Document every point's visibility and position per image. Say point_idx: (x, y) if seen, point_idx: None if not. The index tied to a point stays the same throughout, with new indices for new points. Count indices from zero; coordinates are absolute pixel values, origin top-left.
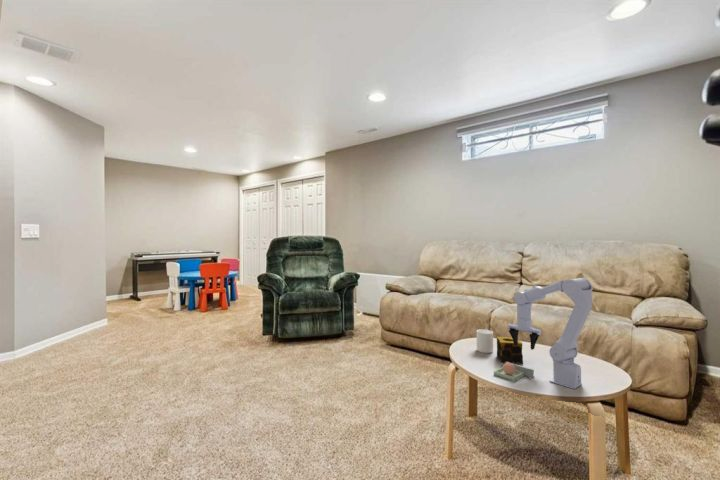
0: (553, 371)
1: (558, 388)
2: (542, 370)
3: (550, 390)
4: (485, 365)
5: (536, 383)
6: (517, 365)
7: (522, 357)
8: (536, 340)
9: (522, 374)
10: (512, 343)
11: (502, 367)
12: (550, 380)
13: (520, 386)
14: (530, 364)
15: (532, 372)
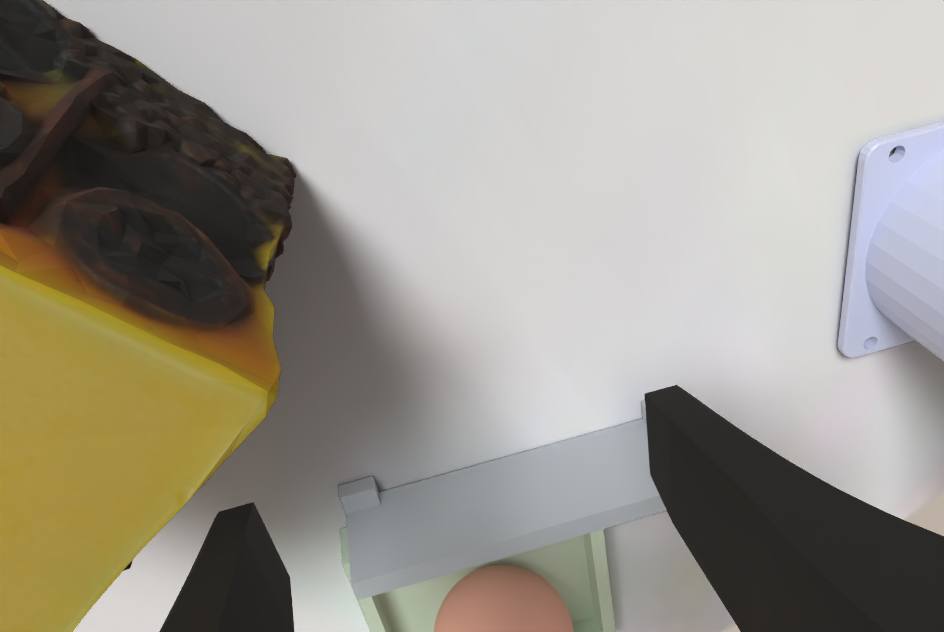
0: (941, 351)
1: (940, 393)
2: (628, 110)
3: (894, 479)
4: (126, 623)
5: None
6: (524, 550)
7: (286, 217)
8: (866, 519)
9: None
10: (127, 557)
11: (365, 598)
12: (854, 351)
13: (689, 620)
14: (359, 47)
15: None
